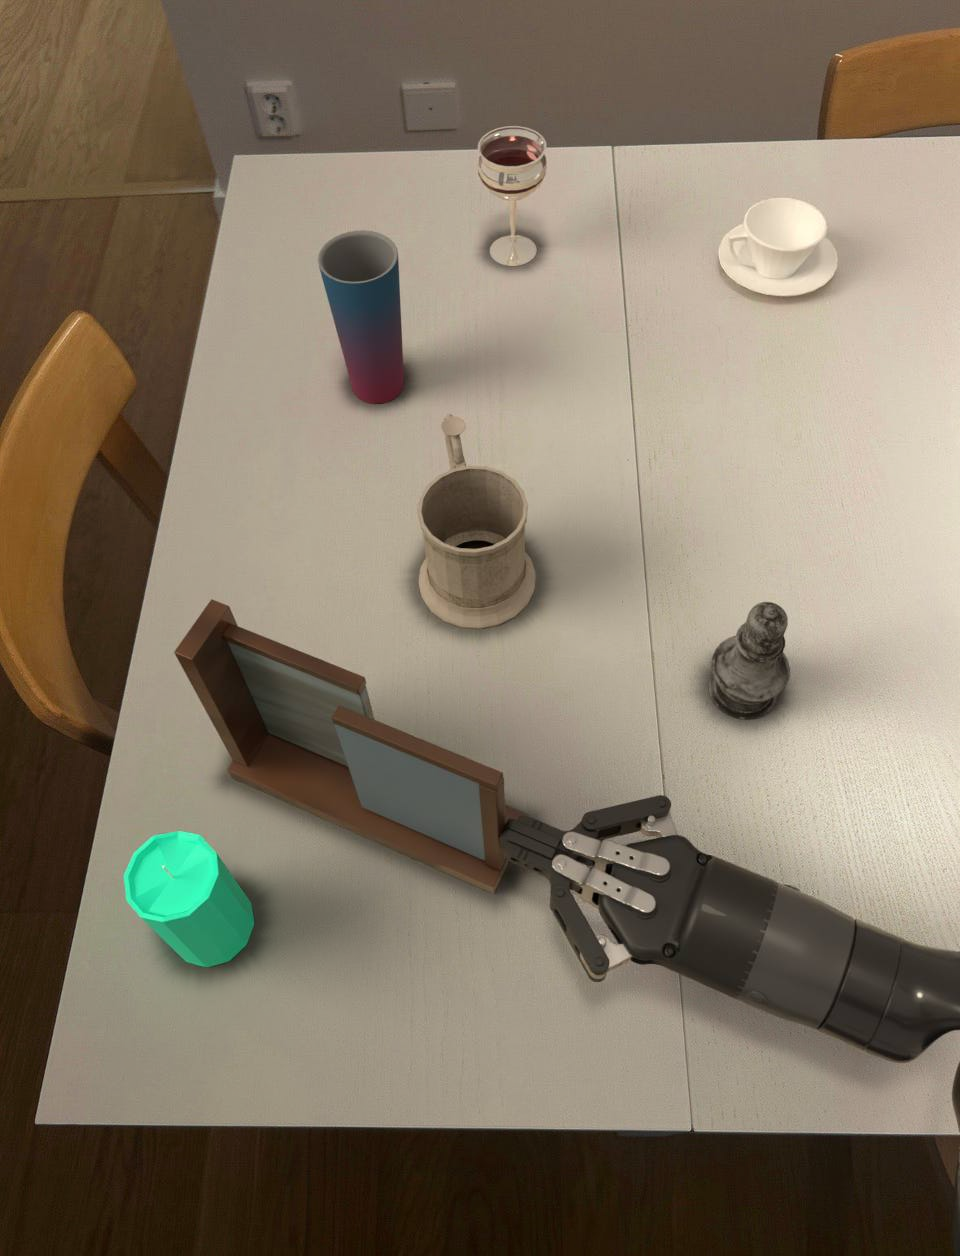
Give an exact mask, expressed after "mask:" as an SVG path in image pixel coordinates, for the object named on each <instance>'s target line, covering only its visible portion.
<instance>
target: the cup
mask: <svg viewBox="0 0 960 1256" xmlns="http://www.w3.org/2000/svg"><path fill="white" fill-rule="evenodd" d="M317 264H318V269H319V271H320V275H321V279H322V283H323V287H324V290H325V295H326V298H327V301H328V304H329V308H330V313H331V315H332V316H331V317H332V319H333V324H334V326H335V330H336V335H337V337H338V338H337V339H338V341H339V345H340V348H341V352H342V356H343V360H344V364H345V368H346V371H347V375H348V377H349V381H350V386H351V389H352V392H353V394H354V395H355V396H356V398H358V399H359V400H360V401H363V402H364V403H368V404H375V405H376V404H385V403H387V402H391V401H393V400H394V399H396V398H397V397H398V396H399V395H400V394H401V393H402V392H403V390H404V387H405V373H404V370H405V369H404V352H403V351H404V349H403V332H402V331H403V329H402V307H401V305H402V304H401V286H400V283H401V282H400V265H399V251H398V247H397V246H396V244H395V243H394V241H393V240H392V239H391V238H389V237H388V236H387V235H385V234H382V233H381V232H377V231H372V230H365V229H361V230H360V229H359V230H351V231H346V232H343V233H340V234H338V235H336V236H334V237H332V238H331V239H329V240H327V242H325V244H323V246H322V247H321V249H320V250H319V253H318V255H317Z"/></svg>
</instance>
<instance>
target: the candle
mask: <svg viewBox="0 0 960 1256" xmlns="http://www.w3.org/2000/svg"><path fill="white" fill-rule="evenodd" d="M123 883H124V891H125V899H126V900H125V901H126V902H127V903H128V905H130V907H131V908H132V910H134V911H135V913H136V914H137V915H138V916H139V918H141V919H142V921H143V922H145V923H146V924H147V925H148V926H149V927H150V928H151V929H152V930H153V931H154V932H155V934H157V935H158V936H159V937H160V938H161V939H162V940H163V941H164V943H166V944H167V945H168V946H169V947H170V948H171V949H172V950H173V951H174V952H176V954H177V955H178V956H179V957H180V958H182V960H183V961H185V963H188V964H192V965H196V966H200V967H203V968H210V967H211V968H212V967H214V966H217V965H221V964H224V963H228V962H230V961H231V960H232V959H234V957H236V956H237V955H238V954H239V953H240V952H241V951H242V950H243V949H244V948H245V947H246V946H247V945H248V943H249V939H250V937H251V935H252V931H253V929H254V927H255V917H254V910H253V906H252V902H251V900H250V899H249V896H247V894H246V893H245V892H244V890H243V889H242V888H241V885H239V883H238V882H237V880H236V878H235V877H234V876H233V875H232V873H231V872H230V870H229V869H228V867H227V865H226V864H225V863H224V861H223V860H222V859H221V858H220V855H218V853H217V852H216V851H215V850H214V848H213V847H212V846H211V845H210V844H209V843H208V842H207V840H206V839H204V838H203V835H201V834H197V833H192V832H187V831H181V830H176V831H170V832H166V833H164V832H163V833H160V834H154V835H152V836H151V837H149V839H148V840H146V841H145V842H144V843H143V844H142V845H141V846H140V847H138V848H137V849H136V850H135V851H134V852H133V854H132V855H131V858H130V860H129V863H128V864H127V867H126V869H125V871H124V874H123Z"/></svg>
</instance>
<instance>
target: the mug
mask: <svg viewBox="0 0 960 1256" xmlns="http://www.w3.org/2000/svg"><path fill="white" fill-rule="evenodd" d="M466 429H467V424H466V422H465V420H464V419H462V418H461V417H460V416H456V415H455V416H454V415H453V414H451V413H450V414H449V413H448V414H446V415H445V416H444V418H443V421H442V422H441V430H442V432H443V433H444V439H445V448H446V452H447V459H448V465H449V470H448V471H445V472H443V473H441V474H439V475H437V476H436V477H435V478H434V479H432V480H431V481H430V482H429V483H428V484H427V485H426V486H425V487H424V490H423V491H422V493H421V495H420V496H419V498H418V505H417V512H416V513H417V518H418V523H419V527H420V530H421V531H422V536H423V544H424V552H425V558H424V560H423V562H422V564H421V566H420V571H419V576H418V587H419V591H420V597H421V599H422V600H423V602H424V603H425V605H426V606H427V608H428V609H429V611H430V612H431V613H432V614H434V615H435V616H436V617H438V618H439V619H441V621H443V622H444V623H447V624H450V625H454V626H456V627H459V628H462V629H475V630H476V629H479V630H481V629H486V628H491V627H497V626H500V625H502V624H504V623H506V622H508V621H510V620H512V619H514V618H515V617H517V616H518V614H520V613H521V612H522V611H523V610H524V609H525V608H526V607H527V606H528V604H529V602H530V601H531V599H532V596H533V594H534V592H535V588H536V579H537V578H536V577H537V574H536V570H535V568H534V564H533V560H532V558H531V557H530V556H529V555H528V553H527V552H526V523H527V521H528V510H529V504H528V500H527V497H526V493H525V491H524V489H523V488H522V487H521V486H520V484H519V483H518V482H517V481H516V479H514V478H513V477H511V476H510V475H508V474H507V473H506V472H503V471H502V470H498V469H496V468H493V467H490V466H485V465H483V466H482V465H467V462H466V459H465V456H464V451H463V444H462V438H461V434H463V433H464V432H465V431H466ZM474 541H476V542H477V541H478V542H480V541H481V542H487V543H490V544H493V545H490V546H484V547H479V548H464V547H463V548H461V547H458V546H459V545H462V544H463V543H467V542H474Z"/></svg>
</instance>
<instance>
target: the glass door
mask: <svg viewBox="0 0 960 1256" xmlns="http://www.w3.org/2000/svg"><path fill="white" fill-rule="evenodd" d="M374 719H375V718H374ZM374 719H371V718H369V717H366V716H364V715H361V714H359V713H357V712H354V711H352V710H349V709H347V708H344V707H342V706H338V707H337V709H336V711H335V712H334V714H333V716H332V721H333V723H334V724H335V727H336V730H337V733H338V736H339V739H340V742H341V745H342V748H343V751H344V755H345V758H346V761H347V764H348V767H349V770H350V773H351V776H352V779H353V782H354V785H355V788H356V791H357V794H358V797H359V800H360V803H361V806H362V807H363V808H365V809H367V810H370V811H372V812H374V813H376V814H379V815H381V816H383V817H386V818H388V819H390V820H392V821H395V822H397V823H399V824H402V825H404V826H406V827H408V828H411V829H413V830H415V831H418V832H420V833H422V834H425V835H427V836H429V837H431V838H434V839H436V840H438V841H441V842H443V843H445V844H447V845H450V846H452V847H454V848H457V849H459V850H461V851H463V852H466V853H468V854H470V855H473V856H475V857H477V858H480V859H482V860H484V861H485V864H487V865H489V866H491V867H494V868H496V869H498V870H501V868H502V866H503V864H504V862H505V860H506V857H505V855H504V849H502V848H501V847H500V846H499V837H500V835H501V833H502V831H503V829H504V827H505V825H506V818H505V805H506V796H505V795H506V794H505V791H506V790H505V777H504V773H503V772H502V771H500V770H497V769H494V768H492V767H490V766H488V765H485V764H483V763H481V762H478V761H475V760H473V759H470V758H469V757H466V756H464V755H461V754H458V753H456V752H453V751H451V750H449V749H446V748H443V747H442V746H440V745H438V744H434V743H432V742H429V741H427V740H424V739H422V738H420V737H417V736H415V735H412V734H410V733H407V732H406V731H403V730H401V729H398V728H395V727H393V726H390V725H388V724H386V723H383V722H381V721H378V720H376V719H375V720H374Z"/></svg>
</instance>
